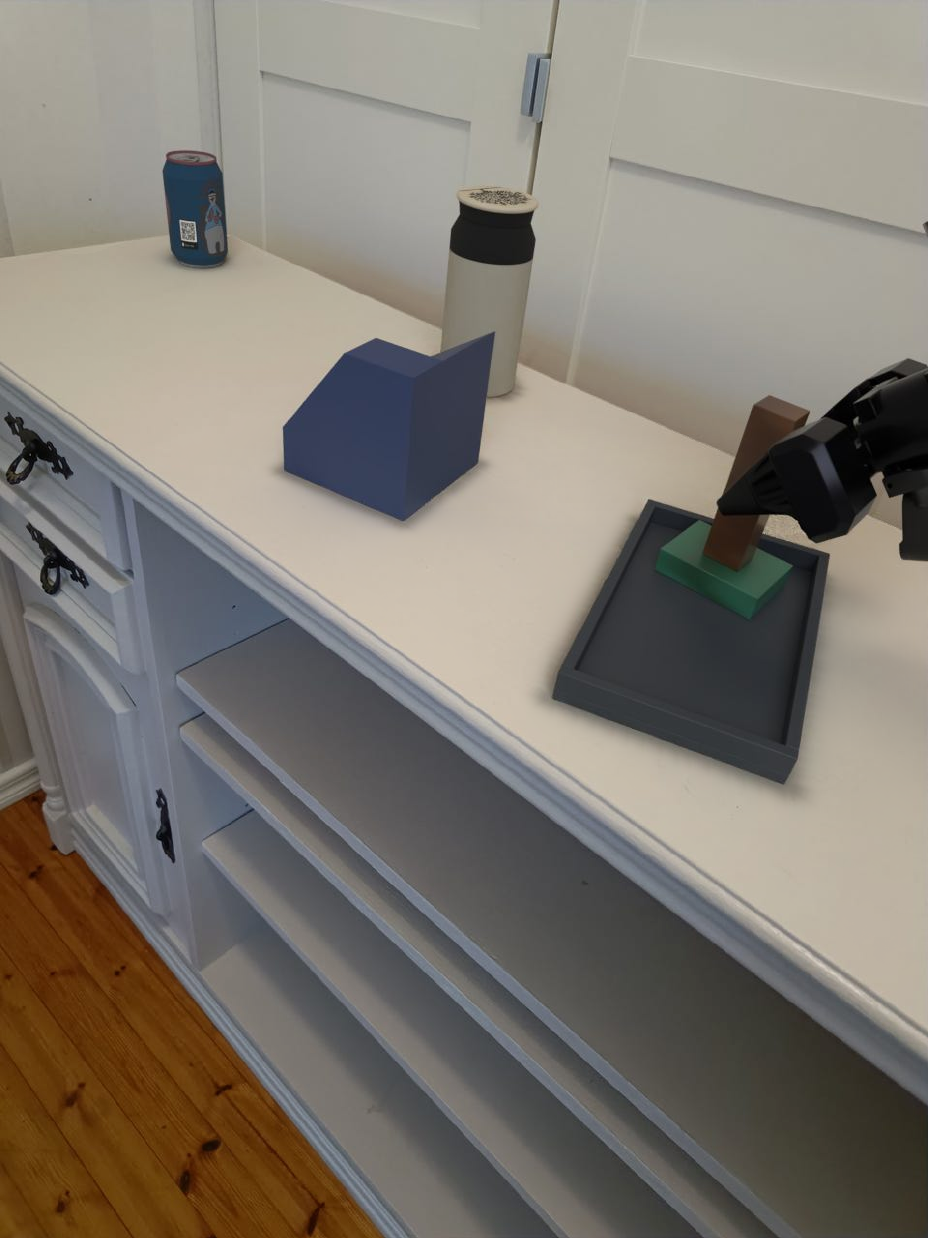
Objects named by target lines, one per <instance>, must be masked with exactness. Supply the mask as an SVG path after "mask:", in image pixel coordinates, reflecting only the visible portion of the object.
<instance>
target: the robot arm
mask: <svg viewBox="0 0 928 1238" xmlns="http://www.w3.org/2000/svg"><path fill="white" fill-rule="evenodd" d="M922 227H923V230H924V231H925V234H926V237H927V238H928V220H927V221H925V222H924V223H923V224H922ZM878 473H882V476H883V477H882V479H881V482H882V485H883V487H884V490H885V492H886V494H887V496H888V499H891V498H895V497H899V496H901V495H902V498H901V538H902V539H901V541H900V542H899V543H898V554H899V557H900V559H901V561H913V562H925V563H927V562H928V364H926V363H923V362H921V361H918V360H915V359H913V358H909V357H907V358H905V359H902V360H900V361H898V362H895V363H893V364H891V365H888V366H885V367H884V368H882V369H880V370H878V371H877V372H876V373H874V374H873V375H871V376H870V377H868V378H866V379H864V380H863V381H862V382H860V383H859V384H857V385H856V386H855V387H854V388H853V389H851V390H850V391H849V392H847V394H846V395H844V396H843V397H842V398H841V399H840V400H838V401H837V403H835V404H834V405H833V406H832V407H831V408H830V409H829V410H827V412H825V413H824V414H823V415H822V416H821V417H820V418H819V419H817V420H815V421H812V422H810V423H806V424H805V426H803V427H801V428H799V429H797V430H795V431H792V432H790V433H789V434H787V435H786V436H785V437H783V438H782V439H780V440H779V441H777V442H776V443H775V444H773V445H772V446H771V447H770V448H769V450H768V451H767V452H766V453H765V454H764V455H763V456H762V457H761V458H760V459H759V460H758V461H757V462H756V463H755V464H754V465H753V466H752V467H751V468H750V469H749V470H748V471H747V472H746V473H745V474H744V475H743V476H742V477H741V478H740V479H739V480H738V481H737V482H736V483H735V484H734V485H733V486H732V487H731V488H730V489H728V490H727V491H726V492H725V493H724V494H723V493H722V494H723V495H722V494H721V496H720V497H719V498H718V499H717V500H716V505H717V509H718V508H719V510H720V512H721V514H722V515H724V516H739V515H769V516H787V517H790V518H792V519H794V520H795V521H797V524H798V526H799V527H800V529H801V530H802V532H803V533H805V535H806V537H807V539H808V540H809V541H811V542H812V543H814V544H820V543H823V542H827V541H830V540H831V541H832V540H834V539H837V538H841V537H844V536H848V534H849V533H850V532H851V531H852V530H853V529H855V527H856V526H857V525H859V523H860V522H861V521H863V519H864V518H866V517H867V516H868V515H869V513H870V511H871V509H872V506H873V505H874V502H875V500H876V499H877V496H878V494H877V492H876V489H875V487H874V484H873V482H872V478H874V476H876V475H877V474H878Z"/></svg>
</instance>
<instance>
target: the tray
mask: <svg viewBox="0 0 928 1238" xmlns="http://www.w3.org/2000/svg"><path fill="white" fill-rule="evenodd" d="M699 520H701V521H703V522H705V523H707V524H709V525H711V526H712V523H713V520H714V518H713V517H710V516H706V515H703V514H700V513H696V512H693V511H691V510H686V509H683V508H681V507H676V506H673V505H670V504H666V503H663V502H661V501H657V500H655V499H650V498H648V499H647V501H646V503H645V505H644V506H643V509H642V510H641V512H640V515H639V516H638V518H637V520H636V522H635V524H634V526H633V528H632V529H631V531H630V533H629V536H628V538H627V539H626V541H625V543H624V545H623V547H622V549H621V551H620V553H619V554H618V556H617V559H616V560H615V563H614V564H613V566H612V568H611V570H610V571H609V574H608V576H607V578H606V580H605V581H604V583H603V585H602V587H601V588H600V591H599V593H598V595H597V597H596V598H595V601H594V602H593V604H592V606H591V608H590V610H589V612H588V614H587V616H586V618H585V619H584V622H583V624H582V626H581V627H580V630H579V631H578V633H577V635H576V637H575V639H574V641H573V643H572V644H571V646H570V648H569V650H568V651H567V654H566V656H565V658H564V660H563V662H562V664H561V666H560V668H559V669H558V671H557V676H556V680H555V683H554V688H553V692H552V696H551V698H552V699H553V700H556V701H558V702H561V703H564V704H566V705H570V706H572V707H574V708H577V709H580V710H583V711H585V712H587V713H591V714H593V715H596V716H599V717H602V718H604V719H606V720H610V721H612V722H615V723H618V724H620V725H623V726H625V727H628V728H631V729H633V730H636V731H639V732H641V733H644V734H647V735H650V736H652V737H654V738H658V739H661V740H663V741H666V742H668V743H671V744H674V745H677V746H679V747H682V748H685V749H688V750H690V751H693V752H695V753H697V754H701V755H703V756H705V757H709V758H712V759H715V760H717V761H719V762H722V763H724V764H727V765H730V766H733V767H736V768H738V769H741V770H744V771H746V772H749V773H751V774H755V775H758V776H760V777H763V778H765V779H768V780H771V781H773V782H776V783H779V784H782V785H784V784H786V782H787V781H788V778H789V776H790V775H791V772H792V771H793V769H794V767H795V766H796V763H797V761H798V760H799V754H800V748H801V747H800V746H801V742H802V741H801V740H802V734H803V728H804V720H805V716H806V709H807V704H808V697H809V690H810V685H811V678H812V671H813V664H814V659H815V652H816V646H817V639H818V633H819V628H820V621H821V616H822V609H823V602H824V596H825V595H824V594H825V589H826V583H827V576H828V570H829V564H830V557H831V553H829V552H826V551H822V550H819V549H816V548H812V547H809V546H805V545H802V544H800V543H796V542H794V541H793V542H792V541H790V540H786V539H784V538H780V537H776V536H772V535H770V534H767V533H764V532H763V533H762V536H761V538H760V541H759V543H758V546H757V548H758V549H760V550H762V551H764V552H766V553H768V554H770V555H772V556H774V557H777V558H779V559H781V560H783V561H785V562H787V563H789V564H791V565H793V567H792V569H791V572H790V574H789V576H788V579H787V581H786V583H785V586H784V587H783V588H782V589H781V590H780V591H779V592H778V593H777V594H776V595H775V596H773V597H772V598H771V599H770V600H769V601H768V602H767V603H766V604H765V605H764V606H763V607H762V608H761V609H760V610H759V611H758V612H757V613H756V614H755V615H754V616H753V617H752V618H751V619H750V620H748V619H746V618H744V617H742V616H741V615H739V614H737V613H735V612H733V611H731V610H729V609H727V608H726V607H724V606H722V605H720V604H718V603H716V602H714V601H712V600H711V599H709V598H707V597H705V596H703V595H701V594H699V593H697V592H696V591H694V590H692V589H690V588H688V587H686V586H684V585H682V584H681V583H679V582H677V581H675V580H673V579H671V578H669V577H667V576H666V575H664V574H662V573H660V572H658V571H656V570H655V565H656V562H657V559H658V556H659V552H660V549H661V548H662V547H663V546H665V545H666V544H667V543H669V542H670V541H671V540H673V539H674V538H675V537H677V536H678V535H680V534H681V533H682V532H684V531H685V530H686V529H688V528H689V527H690V526H692V525H693V524H694V523H696V522H697V521H699Z"/></svg>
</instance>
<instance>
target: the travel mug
mask: <svg viewBox="0 0 928 1238" xmlns="http://www.w3.org/2000/svg"><path fill="white" fill-rule="evenodd" d="M456 198H457V200H458V203H459V215H458V216H457V218H456V220H455V221H454V223H453V224H452V225H451V229H450V237H449V249H448V260H447V262H448V263H447V271H446V273H447V274H446V283H445V293H444V305H443V306H444V307H443V315H442V316H443V318H442V327H441V328H442V330H441V341H440V350H439V351H440V352H443V351H445V350H448V349H451V348H453V347H456V346H458V345H461V344H463V343H466V342H469V341H471V340H474V339H476V338H479V337H481V336H484V335H486V334H489V333H492V332H494V331H495V337H494V345H493V353H492V360H491V368H490V376H489V383H488V391H487V398H493V397H494V398H495V397H498V396H502V395H505V394H508V393H509V392H511V391H512V390H513V389H514V387H515V383H516V376H517V369H518V363H519V356H520V350H521V342H522V337H523V336H522V335H523V328H524V322H525V316H526V315H525V314H526V308H527V302H528V295H529V289H530V280H531V276H532V275H531V274H532V268H533V261H534V254H535V248H536V247H535V246H536V242H537V238H536V235H535V232H534V229H533V225H532V221H533V217H534V214H535V211H536V210H537V209H538V207H539V201H538V199H537V198H536V197H535V196H533V195H532V194H529V193H527V192H524V191H521V190H518V189H513V188H509V187H503V186H495V185H469V186H464V187H462V188H460V189H459V190H458V191H457V192H456ZM440 352H439V353H440Z"/></svg>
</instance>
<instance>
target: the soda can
mask: <svg viewBox="0 0 928 1238" xmlns="http://www.w3.org/2000/svg"><path fill="white" fill-rule="evenodd" d="M165 159H166V160H165V163H164V165H163V168H162V178H163V189H164V199H165V207H166V217H167V225H168V235H169V243H170V244H169V245H170V251H171V253H172V255H173V256H174V257H175V259H176V261H178V263H179V264H181V265H183V266H186V267H189V268H194V269H195V268H197V269H211V268H215V267H216V268H217V267H220V266H222V264H223V263H224V262H225V259H226V257H227V256H228V253H229V243H228V229H227V218H226V214H227V213H226V203H225V201H226V200H225V191H224V190H225V187H224V176H223V175H224V174H223V171H222V170H221V167H220V166H219V164H218V162H217V156H216V155H214V154H213V153H210V152H207V151H200V150H192V149H191V150H190V149H189V150H188V149H187V150H186V149H182V150H181V149H180V150H179V149H178V150H171V151H168V152H167V153H166V154H165Z"/></svg>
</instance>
